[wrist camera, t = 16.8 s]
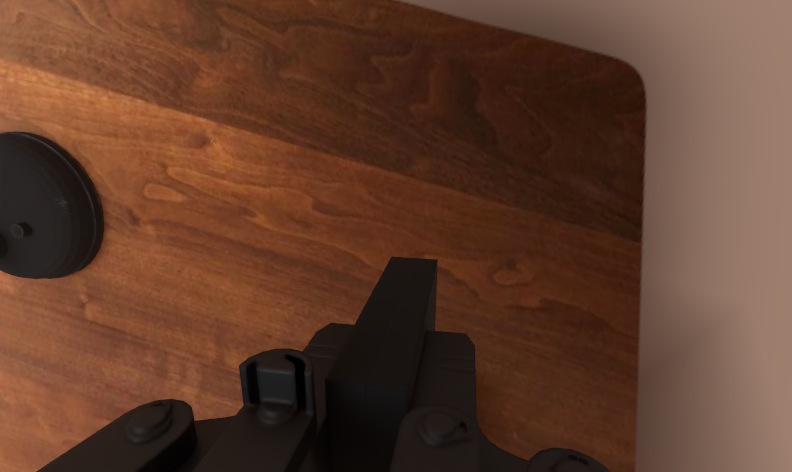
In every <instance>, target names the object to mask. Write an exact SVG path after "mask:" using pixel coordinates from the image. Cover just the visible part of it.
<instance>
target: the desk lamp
mask: <svg viewBox="0 0 792 472" xmlns="http://www.w3.org/2000/svg"><path fill="white" fill-rule="evenodd" d="M103 229H104V227H103V214H102V208H101V204H100V201H99V198H98V195H97V192H96V190H95V188H94V186H93V184H92V182H91V180H90V179H89V177H88V175H87V174H86V172H85V171H84V170H83V168H82V167H81V166H80V165H79V163H78V162H77V161H76V160H75V159H74V158H73V157H72V156H71V155H70V154H69V153H68V152H66V151H65V150H64V149H62V148H61V147H60V146H59V145H57V144H55V143H53V142H52V141H50V140H48V139H46V138H43V137H41V136H38V135H35V134H31V133H26V132H5V133H0V270H1V271H3V272H5V273H8V274H10V275H14V276H18V277H23V278H33V279H40V278H48V279H51V278H60V277H64V276H67V275H70V274H73V273H75V272H77V271H79V270H81V269H83V268H84V267H85V266H87V265H88V264H89V263H90V262H91V261H92V260H93V258H94V257H95V256H96V254H97V252H98V250H99V248H100V245H101V241H102V237H103Z"/></svg>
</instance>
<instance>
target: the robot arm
mask: <svg viewBox="0 0 792 472" xmlns="http://www.w3.org/2000/svg"><path fill="white" fill-rule="evenodd" d="M436 286H437V260H434V259H418V258H402V257H391V259H390V261H389V263H388V264H387V266H386V268H385V270H384V272H383V274H382V275H381V277H380V279H379V281H378V283H377V285H376V286H375V288H374V290H373V292H372V294H371V296H370V297H369V299H368V301H367V303H366V305H365V307H364V308H363V310H362V312H361V314H360V316H359V318H358V319H357V321H356V323H355V325H348V324H337V323H330V324H328V325H327V326H325V327H324V328H322V329H320V330H319V331H317V332H316V333H315V335H314V336H313V338H312V339H311V340H310V342H309V343H308V346H306V348H305V349H304V350H303V352H302V351H298V350H294V349H274V350H269V351H264V352H261V353H259V354H256V355H254V356H252V357H249V358H248V359H247V360H245V361H244V362H243V363H242V364H240V365H239V369H240V378H241V386H242V394H243V403H244V406H243V407H242V408H241V409H240V411H239V412H238V413H237V415H236V416H231V417H225V418H217V419H208V420H199V421H194V416H193V411H192V407H191V406H190V405H188V404H187V403H186V402H184V401H180V400H174V399H167V400H157V401H153V402H150V403H147V404H144V405H141V406H138V407H137V408H135V409H133V410H131V411H129V412H127V413H125V414H123V415H122V416H120V417H119V418H117V419H116V420H114V421H113V422H111V423H110V424H108V425H107V426H105V427H104V428H102V429H101V430H99V431H98V432H96V433H95V434H93V435H91V436H90V437H88V438H87V439H85V440H84V441H82V442H81V443H79V444H78V445H76V446H75V447H73V448H72V449H70V450H69V451H67V452H66V453H64V454H62V455H61V456H59V457H58V458H56V459H55V460H53V461H52V462H50V463H49V464H47V465H46V466H44V467H43V468H41V469H40V470H38V471H37V472H610V471H609V470H608V469H607V468H606V467H605V466H604V465H602V464H601V463H599V462H597V461H596V460H594V459H593V458H591V457H590V456H588V455H585V454H582V453H580V452H577V451H574V450H572V449H563V448H550V449H546V450H542V451H539V452H538V453H537V454H535V455H534V456H533V457H532V458H530V460H529V461H527V460H524V459H522V458H519V457H517V456H514V455H512V454H510V453H508V452H506V451H504V450H502V449H500V448H498V447H497V446H496V445H494V444H493V443H492V442H490V441H489V440H488V439H487V437H486V436H485V435H484V434H483V433H482V431H481V429H480V427H479V426H478V422H477V417H476V380H475V345H474V344H473V343H472V341H471V340H470V339H469V337H468V336H467V335H466V334H462V333H451V332H440V331H435V312H436Z"/></svg>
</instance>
